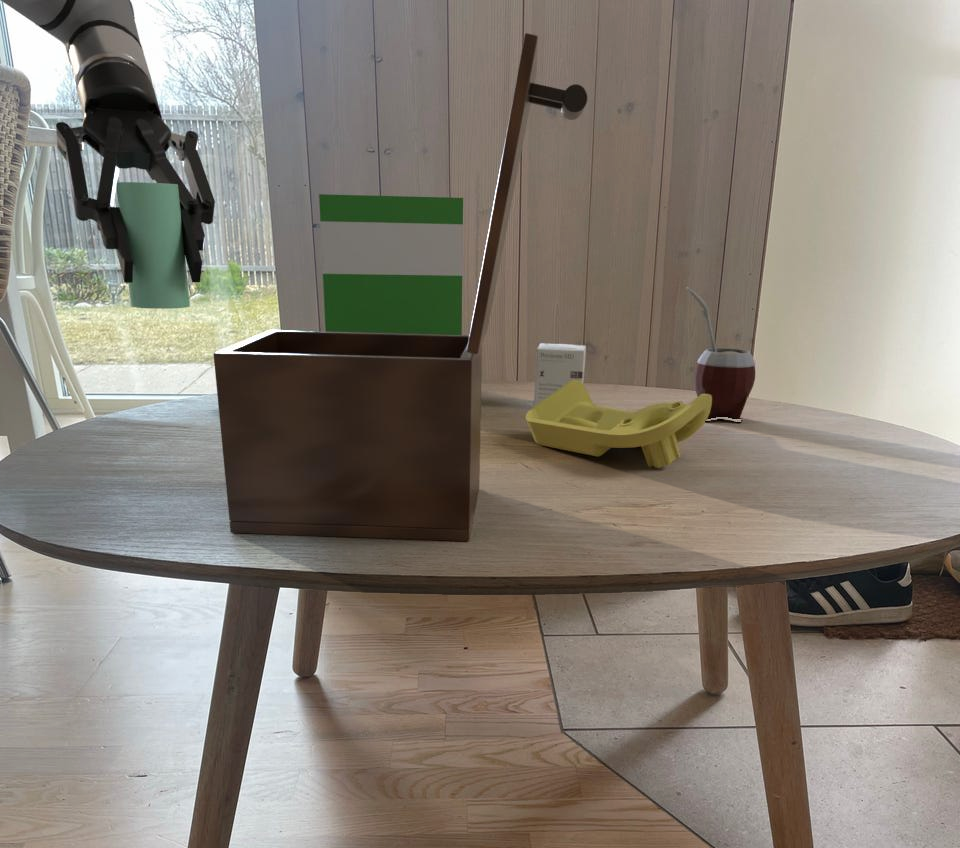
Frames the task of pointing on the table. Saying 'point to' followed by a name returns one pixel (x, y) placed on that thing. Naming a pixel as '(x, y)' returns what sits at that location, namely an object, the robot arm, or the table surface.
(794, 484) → the table surface
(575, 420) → the plastic component
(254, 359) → the chest
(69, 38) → the robot arm
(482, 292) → the lid
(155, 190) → the green cylinder
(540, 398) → the product carton
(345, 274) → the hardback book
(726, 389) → the mate gourd
